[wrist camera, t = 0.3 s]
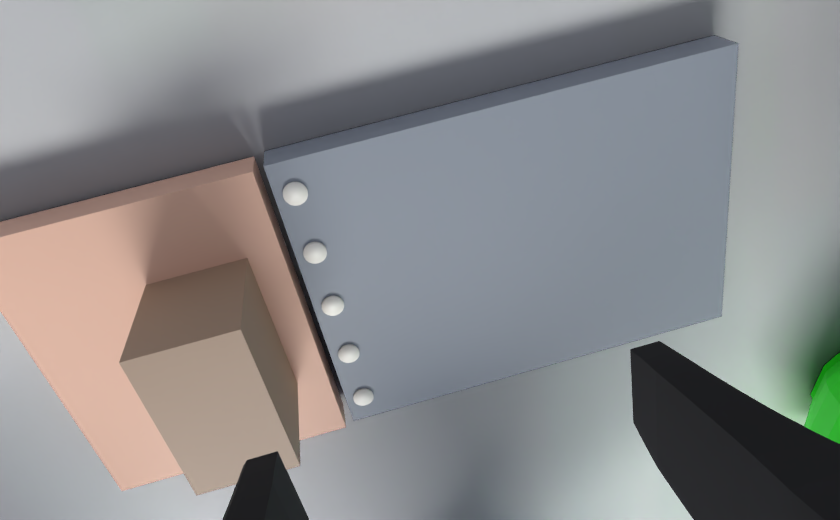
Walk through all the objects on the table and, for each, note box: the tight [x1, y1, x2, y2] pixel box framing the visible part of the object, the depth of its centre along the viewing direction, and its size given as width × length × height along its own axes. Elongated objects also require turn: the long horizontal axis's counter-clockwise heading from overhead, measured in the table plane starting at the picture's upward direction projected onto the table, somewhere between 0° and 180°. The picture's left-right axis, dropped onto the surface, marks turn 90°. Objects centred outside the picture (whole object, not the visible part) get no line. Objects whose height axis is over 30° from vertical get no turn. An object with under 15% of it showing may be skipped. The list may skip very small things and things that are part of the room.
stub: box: [0, 157, 346, 495], centre depth 19 cm, size 10×8×5 cm
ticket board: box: [263, 35, 738, 421], centre depth 21 cm, size 10×14×1 cm
